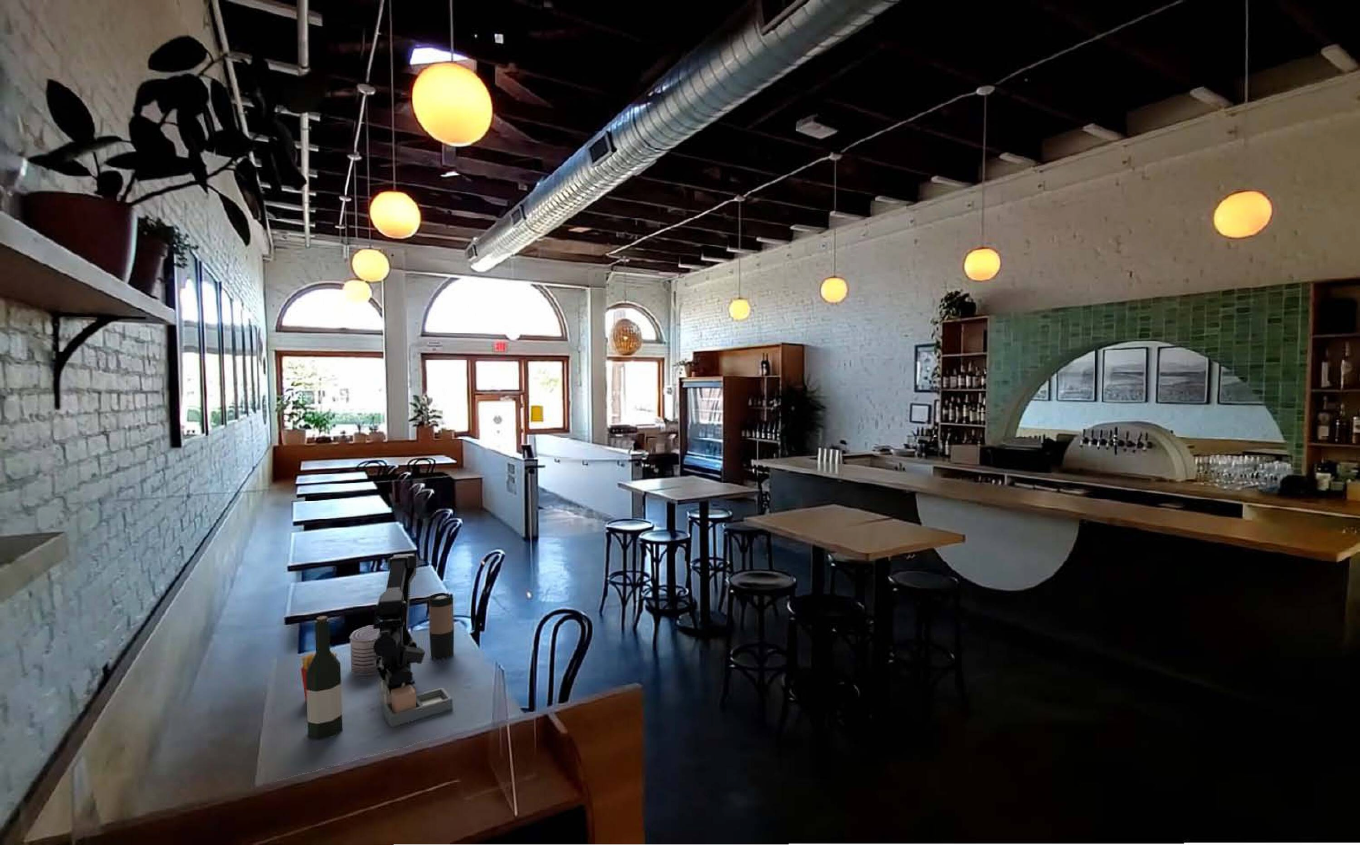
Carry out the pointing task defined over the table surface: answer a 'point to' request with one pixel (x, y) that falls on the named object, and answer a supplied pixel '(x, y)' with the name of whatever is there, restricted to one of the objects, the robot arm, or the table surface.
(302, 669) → the french fries
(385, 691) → the ivory block
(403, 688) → the terracotta block
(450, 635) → the travel mug
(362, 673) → the can
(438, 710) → the pocket frame
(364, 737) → the table surface
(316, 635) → the wine bottle
